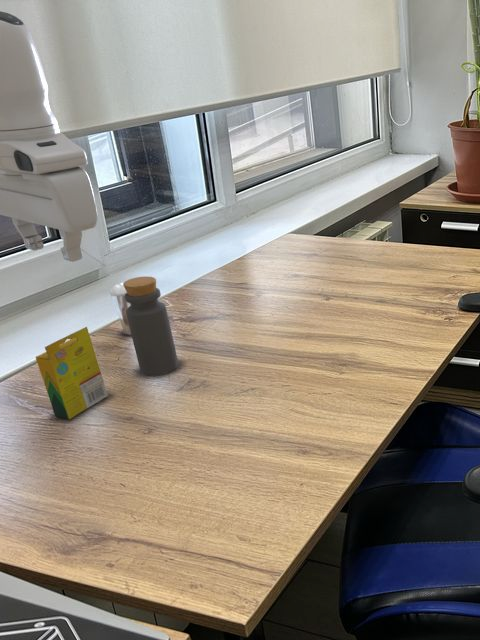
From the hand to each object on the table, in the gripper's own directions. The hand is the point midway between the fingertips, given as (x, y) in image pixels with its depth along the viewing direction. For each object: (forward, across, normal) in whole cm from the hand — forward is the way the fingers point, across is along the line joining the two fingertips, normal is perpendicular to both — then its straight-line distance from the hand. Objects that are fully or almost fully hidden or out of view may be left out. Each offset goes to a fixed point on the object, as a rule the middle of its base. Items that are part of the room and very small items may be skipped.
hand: (54, 254), depth 95 cm
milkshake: (+23, -18, +19) cm, 35 cm away
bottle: (+23, -2, +12) cm, 26 cm away
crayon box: (+23, 0, -2) cm, 23 cm away
